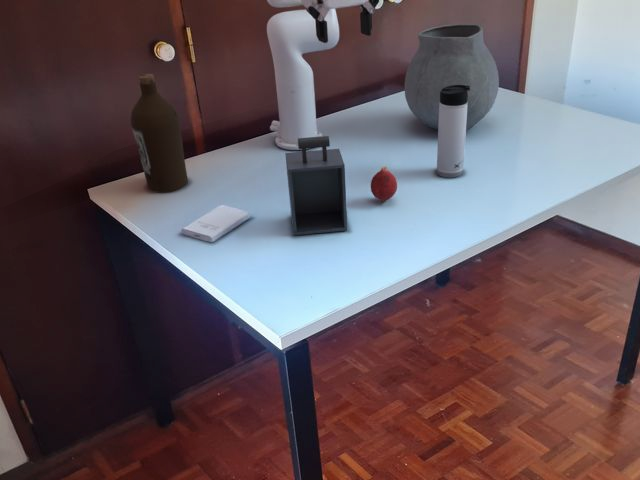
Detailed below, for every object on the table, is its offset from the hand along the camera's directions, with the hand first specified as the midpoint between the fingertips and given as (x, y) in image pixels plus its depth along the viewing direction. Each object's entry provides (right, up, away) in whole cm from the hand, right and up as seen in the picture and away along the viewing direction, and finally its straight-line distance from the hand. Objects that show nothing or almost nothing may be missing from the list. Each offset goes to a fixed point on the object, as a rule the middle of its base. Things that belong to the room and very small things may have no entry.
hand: (344, 38), depth 141 cm
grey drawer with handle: (-6, -26, +5) cm, 27 cm away
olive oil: (-42, -23, +27) cm, 55 cm away
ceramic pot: (+28, -2, +51) cm, 58 cm away
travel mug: (+25, -21, +26) cm, 42 cm away
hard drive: (-27, -36, +8) cm, 46 cm away
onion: (+9, -30, +15) cm, 34 cm away
